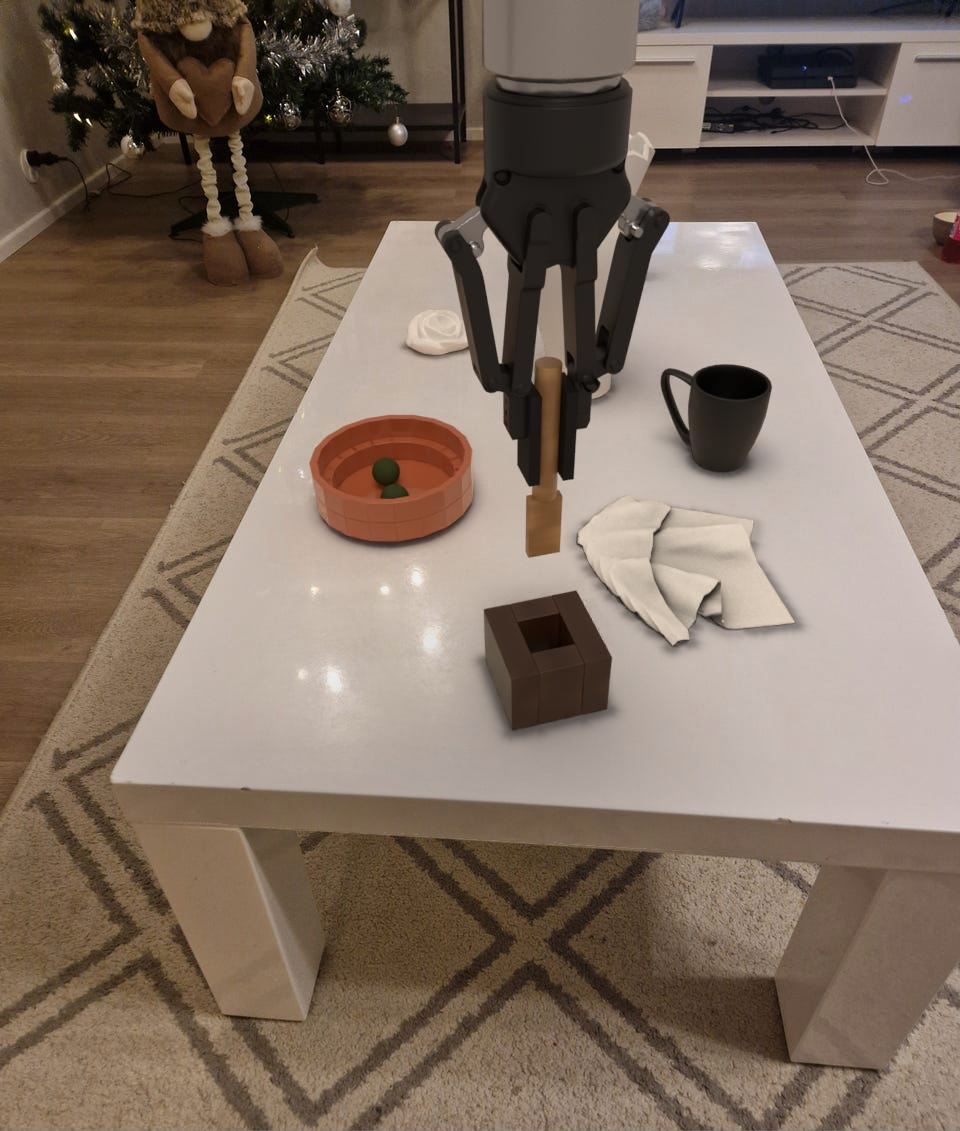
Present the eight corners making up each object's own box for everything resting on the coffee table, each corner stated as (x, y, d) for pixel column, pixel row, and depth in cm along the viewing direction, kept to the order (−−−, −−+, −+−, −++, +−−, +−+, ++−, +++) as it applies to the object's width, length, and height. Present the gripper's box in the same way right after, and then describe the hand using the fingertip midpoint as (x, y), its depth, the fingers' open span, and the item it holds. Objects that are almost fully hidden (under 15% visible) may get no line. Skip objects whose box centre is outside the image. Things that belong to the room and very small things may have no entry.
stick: (530, 562, 61) (533, 371, 52) (523, 547, 63) (525, 359, 53) (562, 556, 62) (571, 365, 52) (554, 541, 63) (562, 353, 54)
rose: (420, 292, 123) (484, 300, 120) (423, 322, 126) (485, 330, 123) (391, 321, 116) (458, 330, 113) (394, 352, 118) (459, 361, 116)
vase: (657, 377, 111) (685, 132, 92) (600, 427, 102) (618, 166, 83) (560, 349, 118) (568, 116, 99) (498, 393, 109) (494, 146, 90)
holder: (511, 731, 68) (511, 679, 64) (485, 660, 74) (483, 608, 70) (607, 709, 69) (612, 657, 65) (573, 641, 75) (576, 590, 71)
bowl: (328, 561, 84) (320, 516, 81) (310, 470, 97) (302, 428, 93) (491, 530, 87) (490, 486, 84) (453, 446, 100) (450, 404, 96)
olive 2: (384, 521, 88) (381, 497, 86) (379, 504, 90) (376, 481, 88) (413, 516, 88) (410, 492, 86) (407, 499, 90) (405, 476, 88)
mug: (675, 421, 102) (685, 347, 96) (769, 454, 96) (786, 378, 90) (638, 450, 98) (645, 374, 92) (734, 488, 92) (749, 409, 86)
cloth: (607, 487, 92) (608, 468, 91) (818, 537, 85) (823, 517, 83) (534, 605, 79) (534, 586, 77) (778, 678, 71) (784, 658, 69)
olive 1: (376, 493, 92) (372, 469, 90) (371, 477, 94) (368, 454, 92) (403, 488, 92) (401, 464, 90) (398, 473, 94) (395, 450, 92)
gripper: (663, 52, 47) (626, 427, 62) (398, 73, 44) (426, 460, 59) (728, 80, 41) (669, 484, 56) (428, 105, 39) (451, 523, 54)
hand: (545, 471), depth 58 cm, fingers closed on stick, 2 cm apart
